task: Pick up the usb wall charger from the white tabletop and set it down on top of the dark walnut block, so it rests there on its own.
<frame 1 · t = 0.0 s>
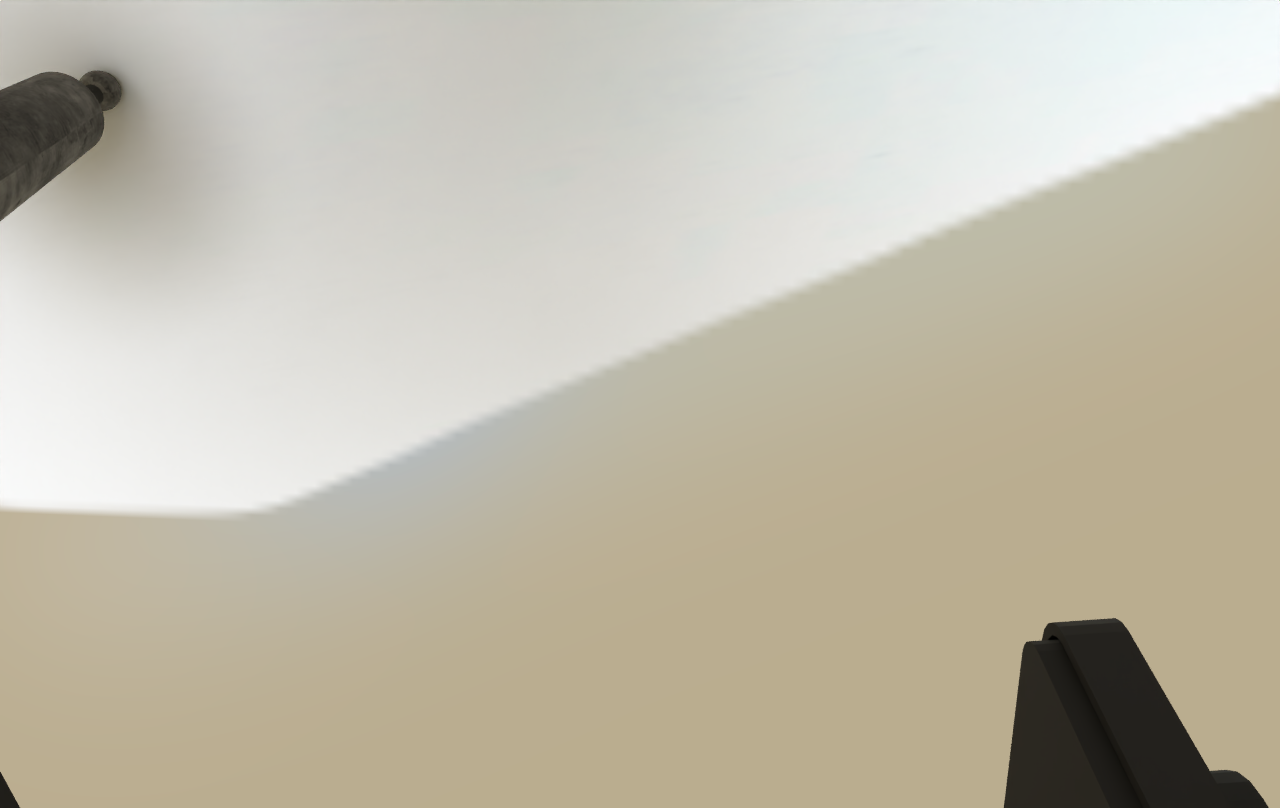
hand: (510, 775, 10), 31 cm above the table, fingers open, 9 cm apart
microphone: (110, 84, 38), on the table
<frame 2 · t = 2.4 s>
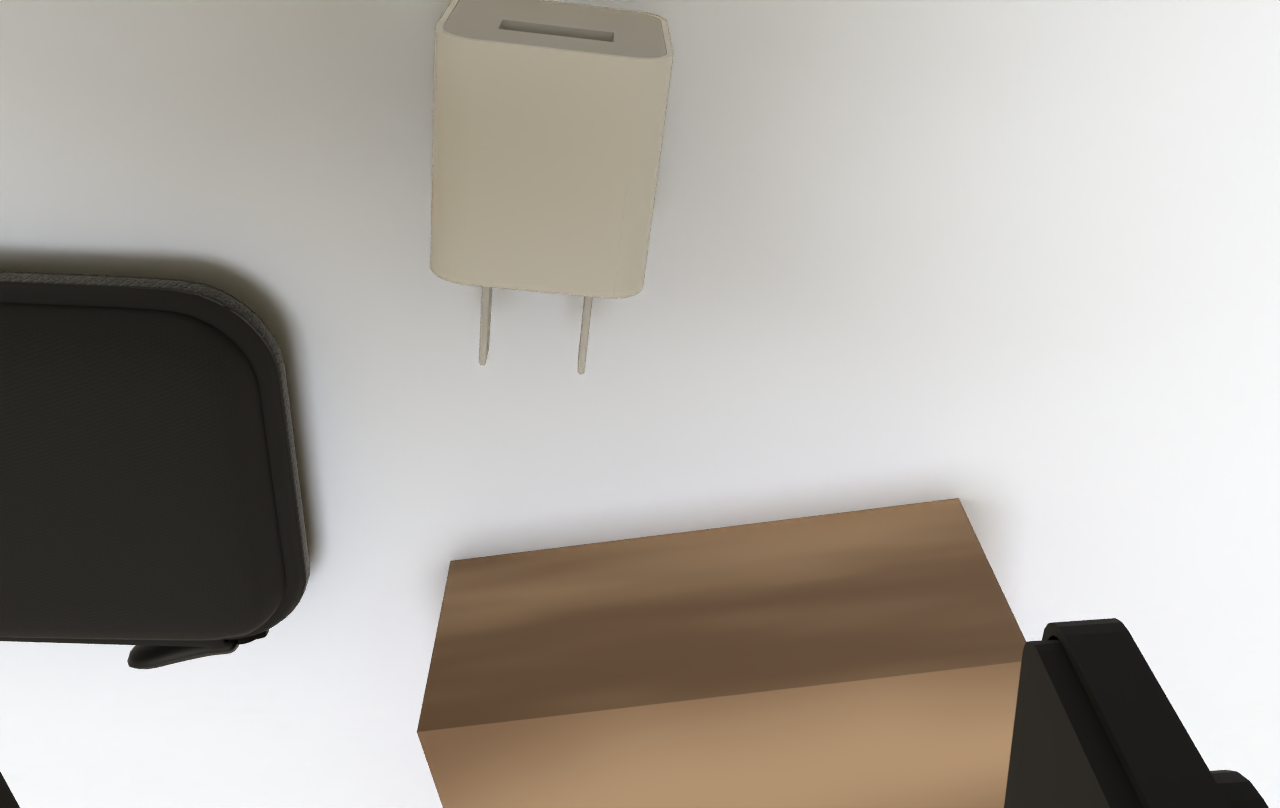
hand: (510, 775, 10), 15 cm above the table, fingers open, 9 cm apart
walnut block: (725, 702, 31), on the table
carrying case or bag: (10, 445, 27), on the table
usb wall charger: (549, 170, 23), on the table
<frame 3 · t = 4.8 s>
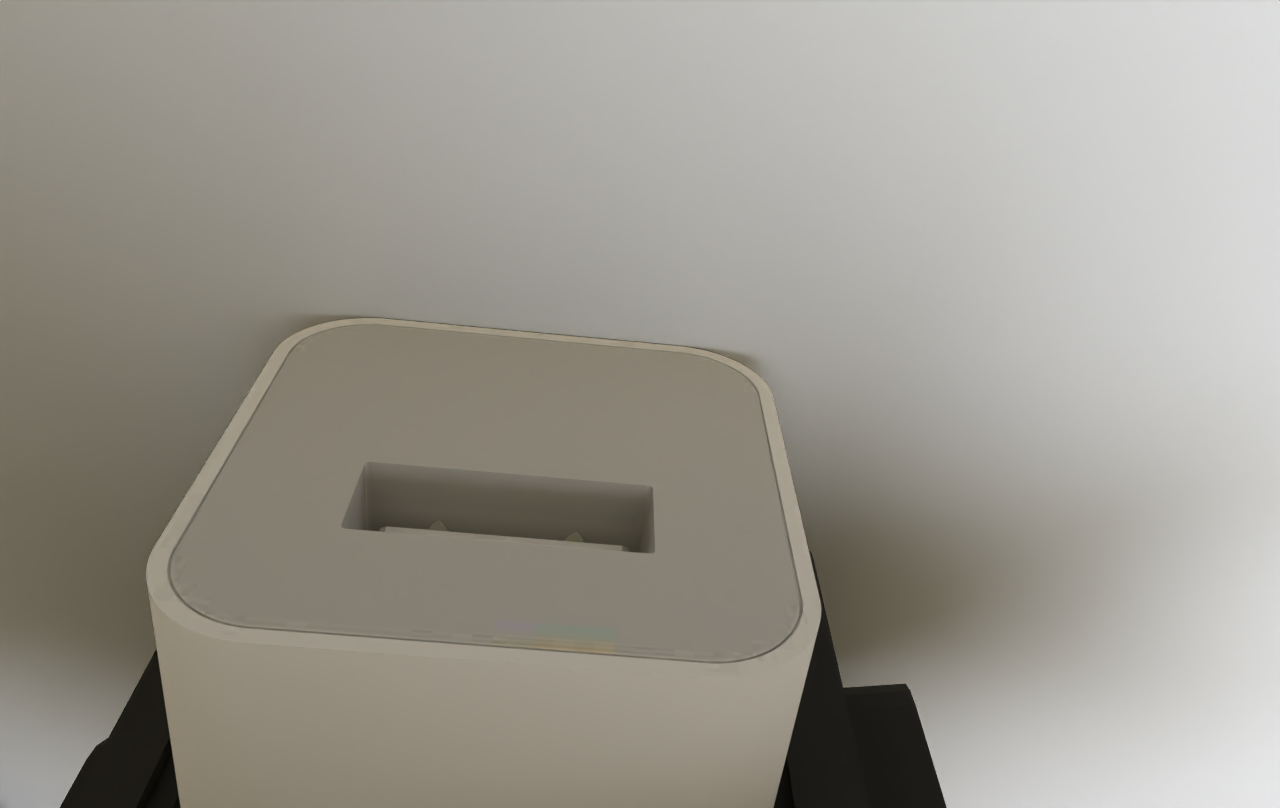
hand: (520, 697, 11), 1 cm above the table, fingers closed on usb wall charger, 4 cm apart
usb wall charger: (515, 622, 11), on the table, touching gripper
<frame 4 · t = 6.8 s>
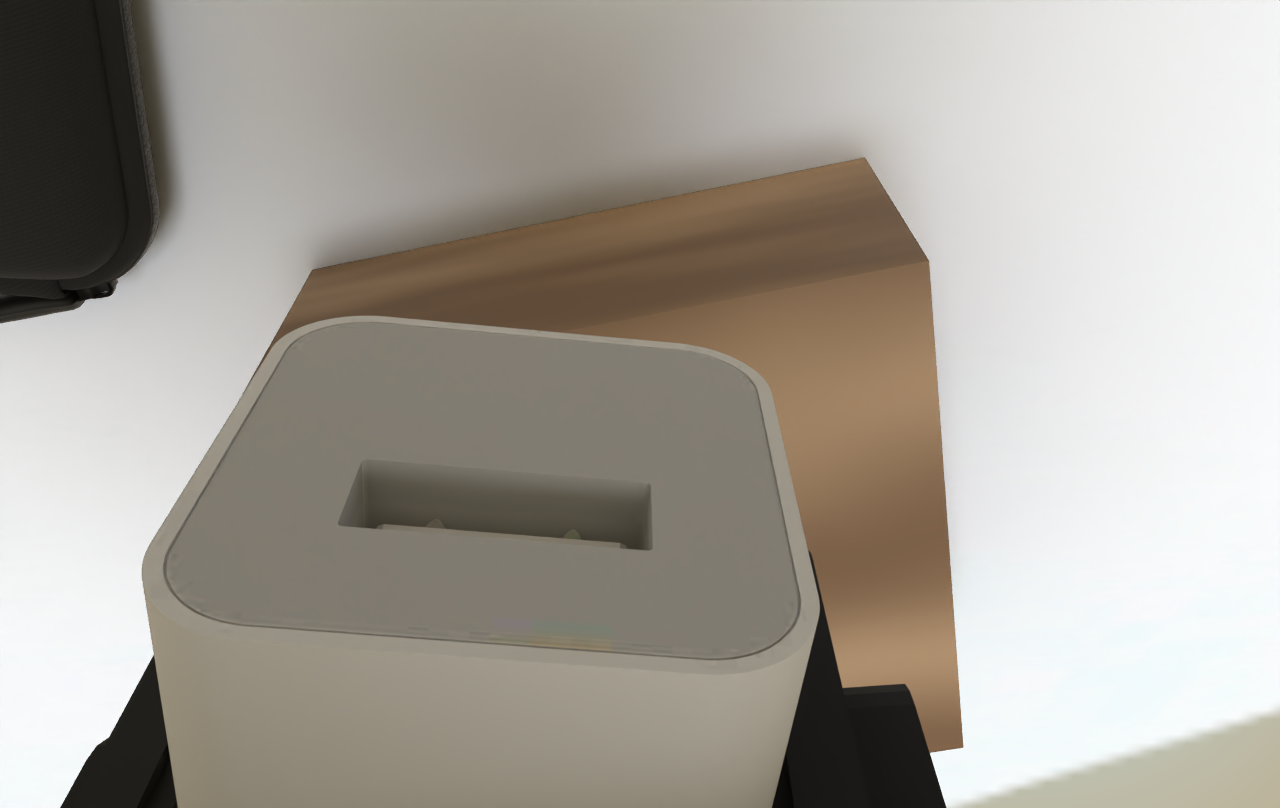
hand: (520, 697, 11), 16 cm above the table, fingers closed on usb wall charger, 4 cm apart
walnut block: (639, 439, 29), on the table
usb wall charger: (514, 620, 11), point 15 cm above the table, touching gripper
when the fingers open (8 cm above the table, at t = 9.0 s): usb wall charger drops 2 cm, resting on walnut block.
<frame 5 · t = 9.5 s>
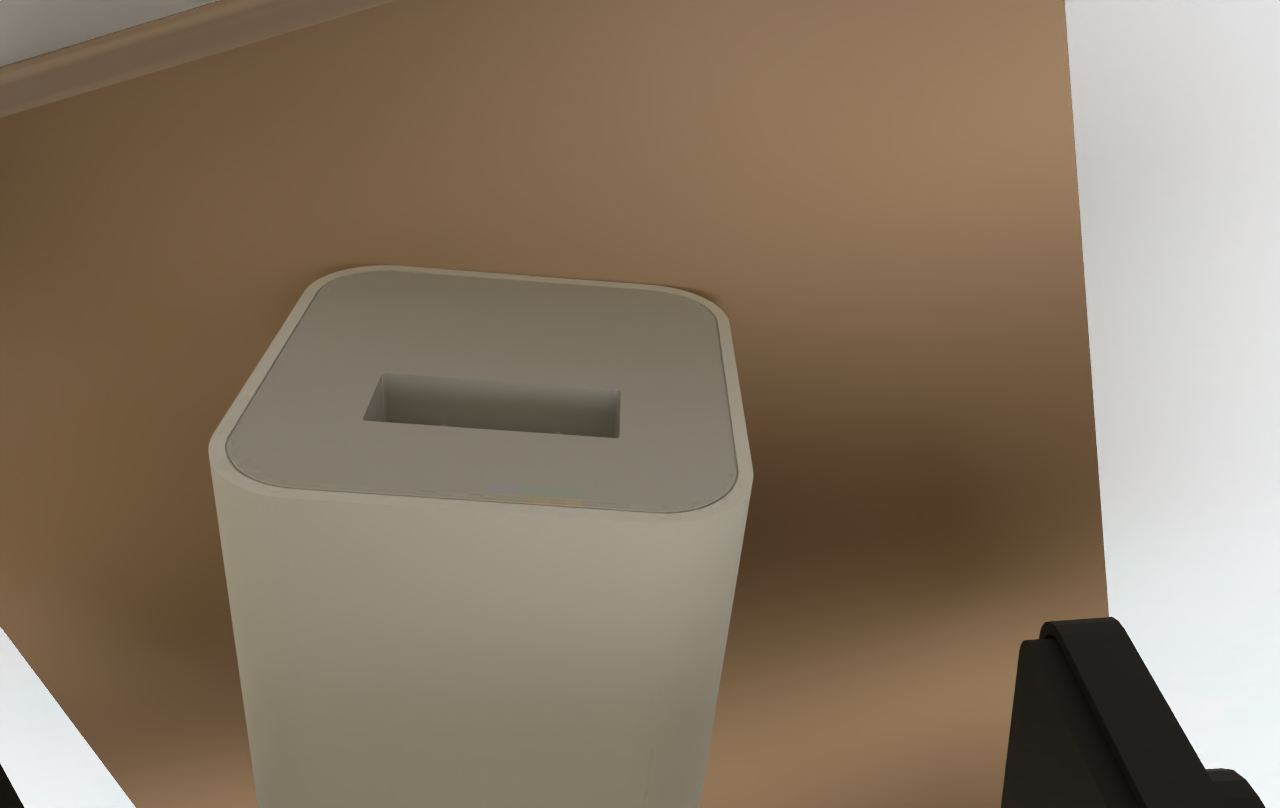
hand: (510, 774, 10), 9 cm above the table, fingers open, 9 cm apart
walnut block: (564, 345, 18), on the table, touching usb wall charger
usb wall charger: (518, 538, 13), point 5 cm above the table, touching walnut block
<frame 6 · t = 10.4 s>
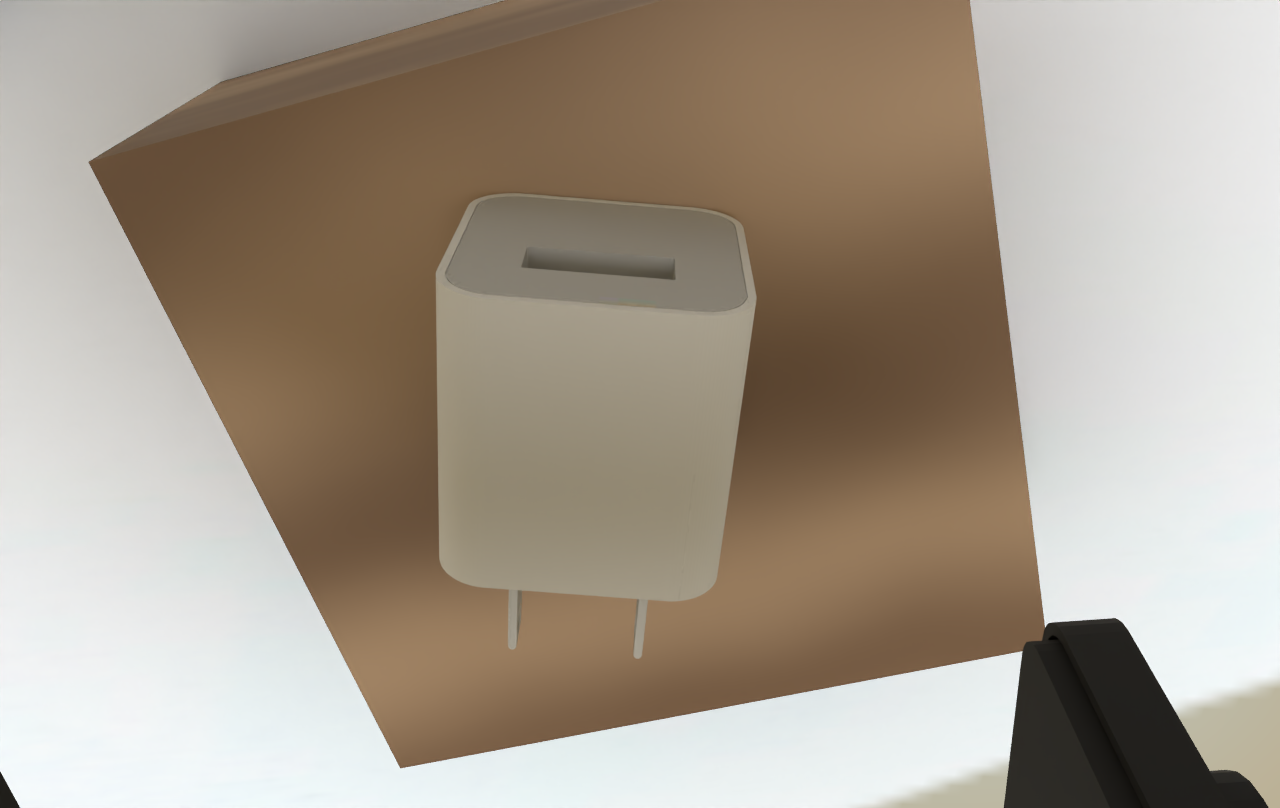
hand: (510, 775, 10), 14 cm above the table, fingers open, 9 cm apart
walnut block: (629, 294, 24), on the table
usb wall charger: (595, 395, 18), point 5 cm above the table
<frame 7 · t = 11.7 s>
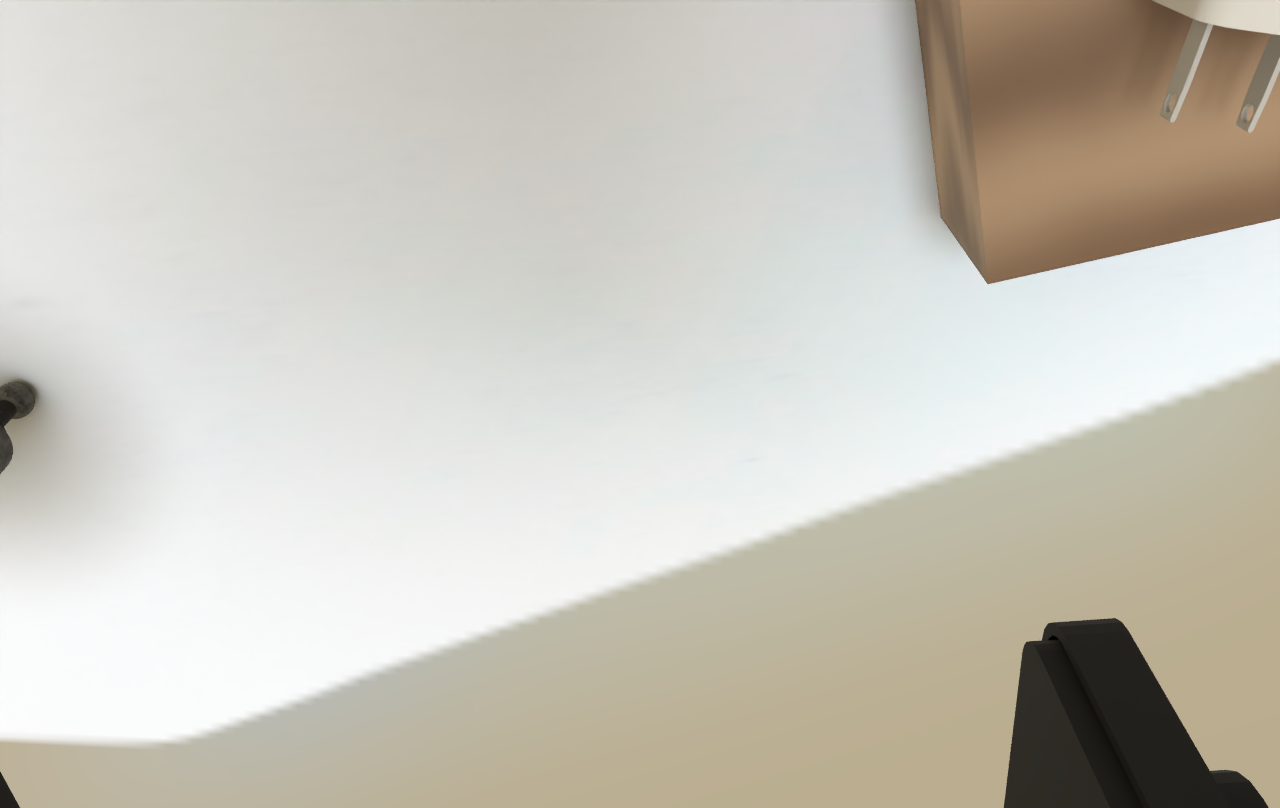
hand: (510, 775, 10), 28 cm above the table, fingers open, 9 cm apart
microphone: (25, 389, 40), on the table
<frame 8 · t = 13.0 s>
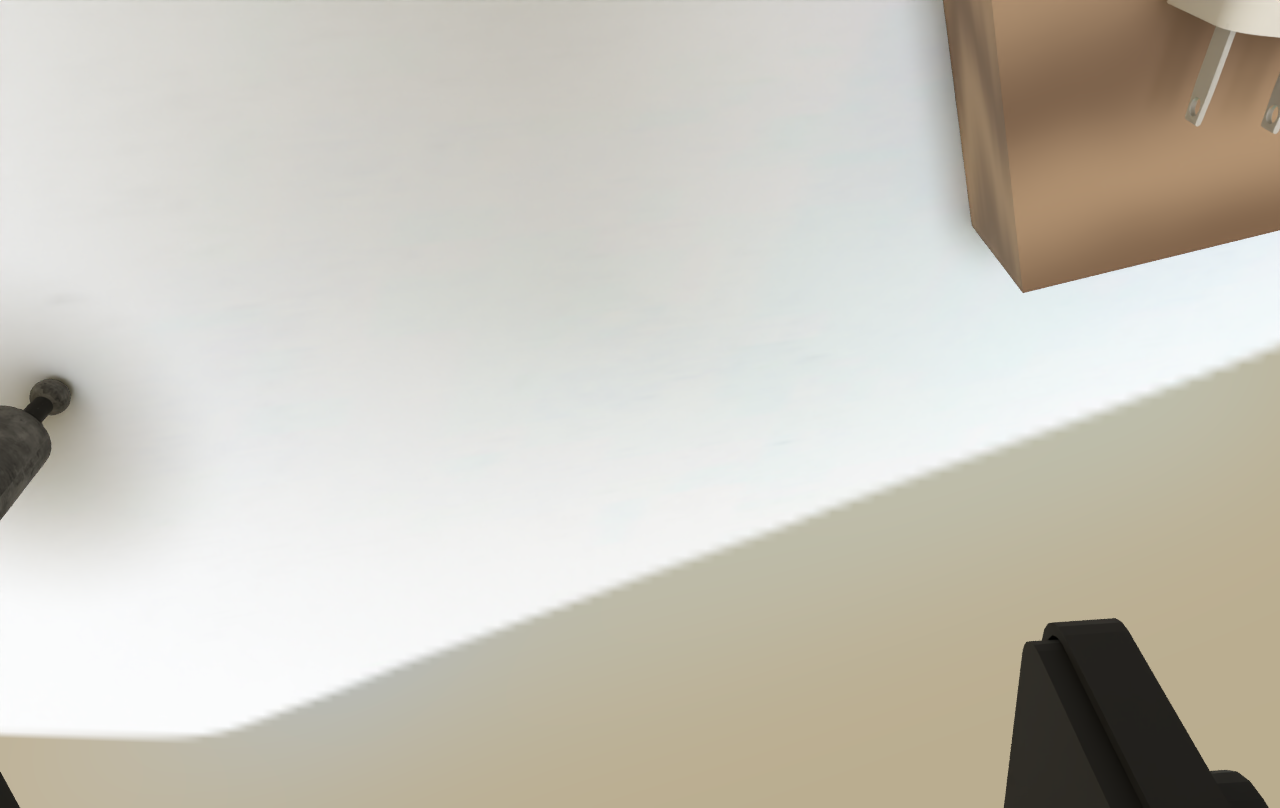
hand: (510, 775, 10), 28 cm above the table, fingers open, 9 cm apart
microphone: (60, 385, 40), on the table
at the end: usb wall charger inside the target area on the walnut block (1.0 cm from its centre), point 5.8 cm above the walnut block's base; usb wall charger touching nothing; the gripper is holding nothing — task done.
